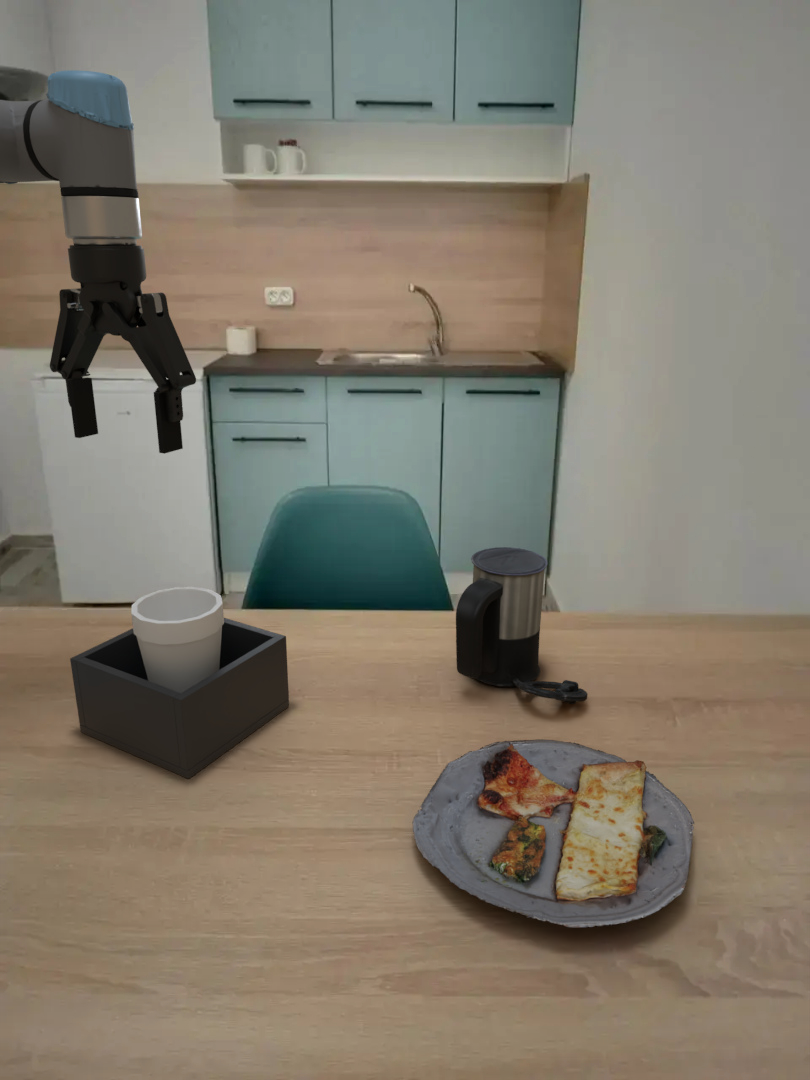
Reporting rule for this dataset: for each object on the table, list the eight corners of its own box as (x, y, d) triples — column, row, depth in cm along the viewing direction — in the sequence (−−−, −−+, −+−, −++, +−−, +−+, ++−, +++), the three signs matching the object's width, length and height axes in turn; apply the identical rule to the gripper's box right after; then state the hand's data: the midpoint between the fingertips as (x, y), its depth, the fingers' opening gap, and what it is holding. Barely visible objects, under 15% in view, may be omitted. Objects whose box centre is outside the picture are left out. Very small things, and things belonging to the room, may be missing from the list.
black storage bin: (80, 732, 90) (69, 658, 87) (187, 670, 103) (181, 604, 100) (188, 779, 82) (180, 700, 79) (289, 706, 95) (286, 635, 92)
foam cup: (246, 713, 92) (239, 606, 87) (169, 745, 86) (157, 632, 81) (203, 681, 98) (194, 580, 94) (129, 708, 93) (115, 602, 88)
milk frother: (477, 647, 109) (482, 541, 104) (598, 668, 104) (609, 558, 99) (444, 700, 97) (447, 583, 92) (580, 727, 92) (591, 604, 86)
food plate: (473, 735, 90) (474, 707, 89) (698, 787, 81) (703, 757, 80) (378, 893, 68) (378, 858, 67) (673, 986, 60) (678, 948, 59)
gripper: (220, 243, 83) (234, 450, 90) (57, 241, 95) (80, 424, 102) (165, 243, 77) (184, 465, 84) (-3, 241, 89) (27, 435, 96)
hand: (127, 443), depth 93 cm, fingers open, 13 cm apart
